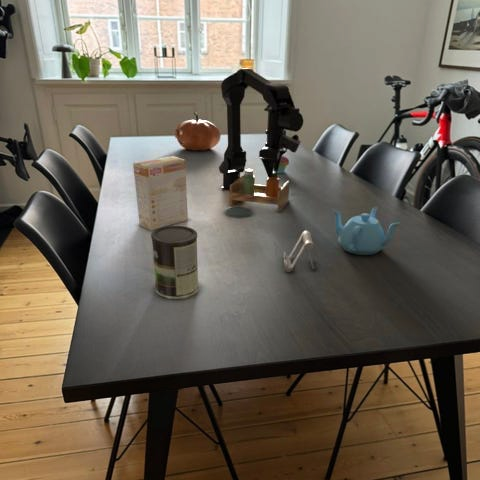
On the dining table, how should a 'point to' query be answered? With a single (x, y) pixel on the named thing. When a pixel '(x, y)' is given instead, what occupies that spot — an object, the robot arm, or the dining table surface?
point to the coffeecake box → (161, 192)
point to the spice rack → (259, 194)
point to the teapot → (363, 233)
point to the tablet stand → (306, 246)
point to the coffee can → (175, 261)
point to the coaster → (238, 212)
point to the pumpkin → (197, 134)
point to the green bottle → (248, 182)
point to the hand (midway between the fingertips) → (273, 174)
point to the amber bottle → (272, 185)
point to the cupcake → (282, 165)
